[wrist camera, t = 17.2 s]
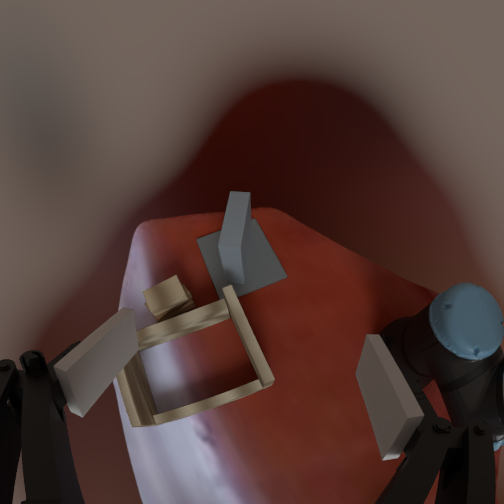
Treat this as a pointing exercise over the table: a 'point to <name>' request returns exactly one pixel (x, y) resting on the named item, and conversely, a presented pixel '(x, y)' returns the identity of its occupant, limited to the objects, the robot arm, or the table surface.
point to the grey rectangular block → (236, 237)
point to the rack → (133, 373)
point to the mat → (258, 267)
